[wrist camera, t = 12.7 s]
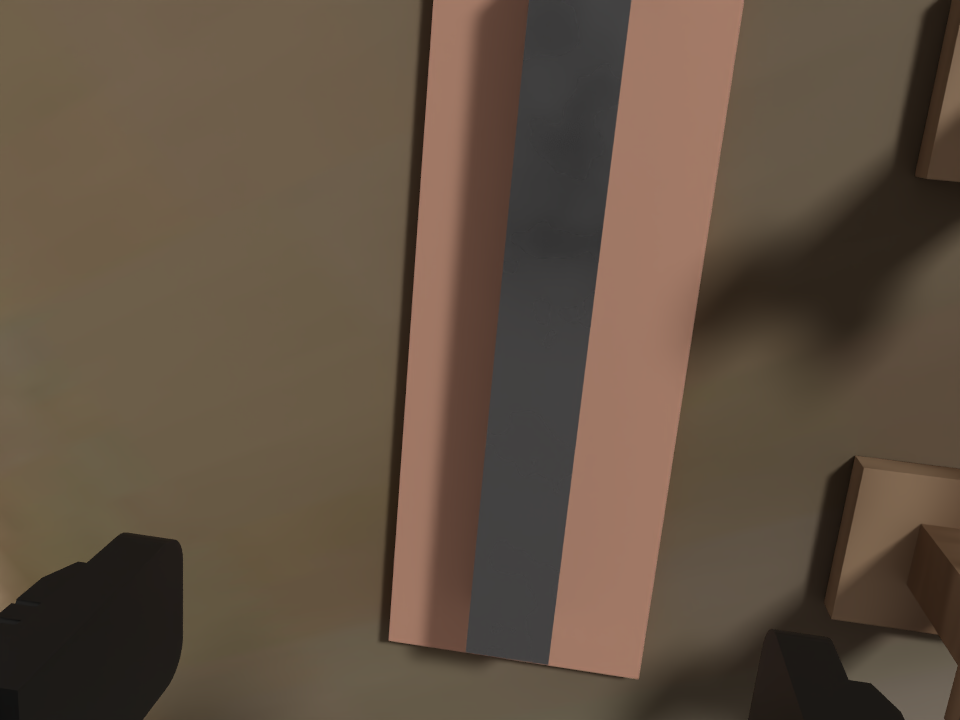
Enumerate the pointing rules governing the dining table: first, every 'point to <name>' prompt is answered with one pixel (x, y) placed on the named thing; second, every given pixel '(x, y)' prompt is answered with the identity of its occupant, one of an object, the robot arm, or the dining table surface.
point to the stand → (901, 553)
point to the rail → (544, 318)
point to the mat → (614, 326)
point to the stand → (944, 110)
